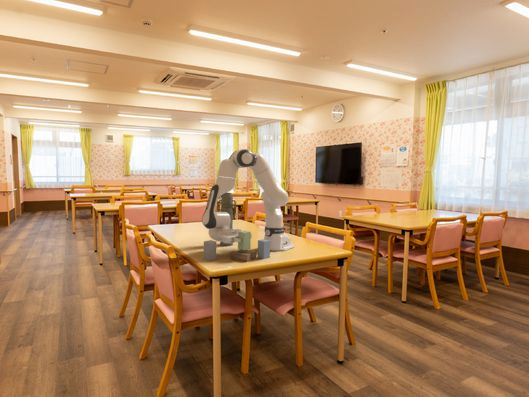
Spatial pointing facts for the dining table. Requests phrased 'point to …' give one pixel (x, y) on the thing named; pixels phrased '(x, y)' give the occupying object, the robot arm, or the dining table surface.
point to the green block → (244, 240)
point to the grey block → (210, 250)
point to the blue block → (263, 249)
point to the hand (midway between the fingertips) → (245, 239)
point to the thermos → (227, 210)
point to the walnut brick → (243, 255)
